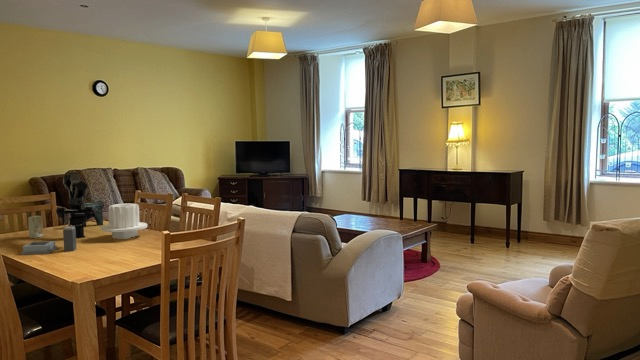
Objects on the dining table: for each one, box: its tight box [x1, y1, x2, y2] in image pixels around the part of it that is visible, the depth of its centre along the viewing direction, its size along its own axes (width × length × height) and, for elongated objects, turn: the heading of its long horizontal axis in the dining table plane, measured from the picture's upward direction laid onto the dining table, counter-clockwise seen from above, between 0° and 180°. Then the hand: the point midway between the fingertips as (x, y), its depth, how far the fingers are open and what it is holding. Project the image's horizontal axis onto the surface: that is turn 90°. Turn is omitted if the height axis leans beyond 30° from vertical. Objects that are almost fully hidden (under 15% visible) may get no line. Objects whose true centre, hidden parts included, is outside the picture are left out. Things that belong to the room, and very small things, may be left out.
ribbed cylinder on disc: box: [100, 202, 148, 240], centre depth 277 cm, size 25×25×19 cm
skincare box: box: [27, 215, 44, 239], centre depth 279 cm, size 6×4×12 cm
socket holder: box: [19, 240, 59, 256], centre depth 243 cm, size 13×13×4 cm
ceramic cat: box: [83, 195, 105, 227], centre depth 311 cm, size 20×6×20 cm, turn 134°
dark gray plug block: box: [62, 225, 77, 252], centre depth 245 cm, size 4×4×12 cm
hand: (73, 224), depth 250 cm, fingers open, 9 cm apart
